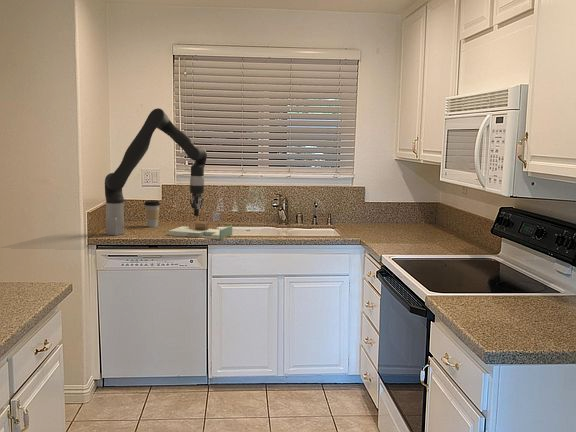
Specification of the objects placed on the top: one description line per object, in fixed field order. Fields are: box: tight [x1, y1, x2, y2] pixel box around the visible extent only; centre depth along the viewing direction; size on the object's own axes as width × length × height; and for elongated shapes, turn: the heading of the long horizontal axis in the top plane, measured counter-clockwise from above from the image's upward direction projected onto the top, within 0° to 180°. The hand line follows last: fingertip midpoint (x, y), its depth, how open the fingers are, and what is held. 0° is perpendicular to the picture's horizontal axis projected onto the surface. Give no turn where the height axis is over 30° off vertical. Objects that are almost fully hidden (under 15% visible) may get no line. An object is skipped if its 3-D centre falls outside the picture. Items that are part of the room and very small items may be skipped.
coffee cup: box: [143, 200, 161, 228], centre depth 350 cm, size 9×9×15 cm
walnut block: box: [194, 221, 210, 230], centre depth 330 cm, size 6×6×4 cm
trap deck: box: [168, 225, 233, 240], centre depth 327 cm, size 16×31×5 cm, turn 74°
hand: (196, 216), depth 321 cm, fingers closed
